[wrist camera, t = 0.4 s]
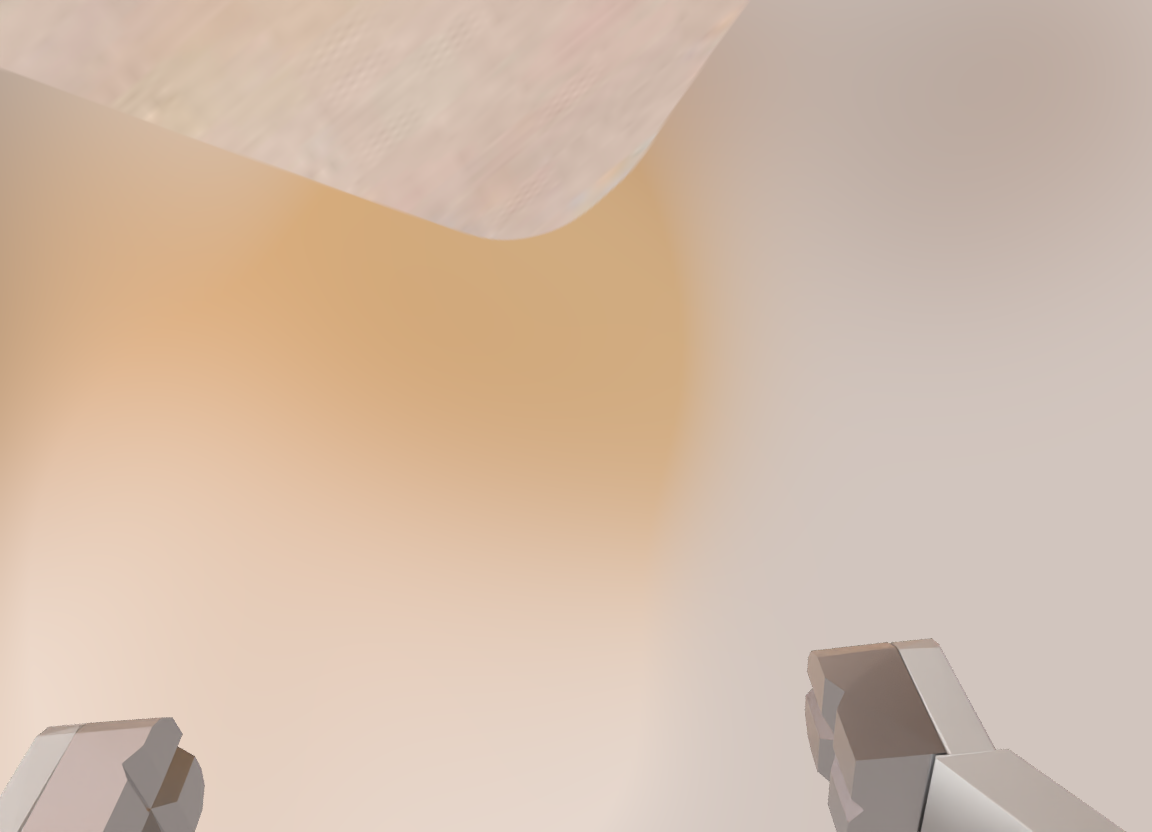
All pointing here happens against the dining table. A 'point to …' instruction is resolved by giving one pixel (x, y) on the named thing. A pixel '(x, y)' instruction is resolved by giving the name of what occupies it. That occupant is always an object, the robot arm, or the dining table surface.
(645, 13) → the dining table surface
